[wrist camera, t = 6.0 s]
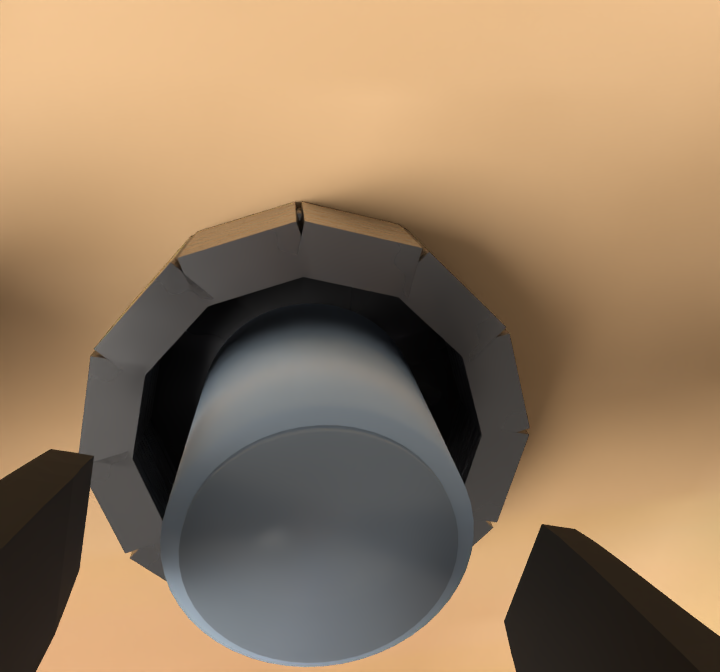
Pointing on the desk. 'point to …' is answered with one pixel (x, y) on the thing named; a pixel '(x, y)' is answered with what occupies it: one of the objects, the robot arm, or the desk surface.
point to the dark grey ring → (275, 290)
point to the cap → (314, 495)
